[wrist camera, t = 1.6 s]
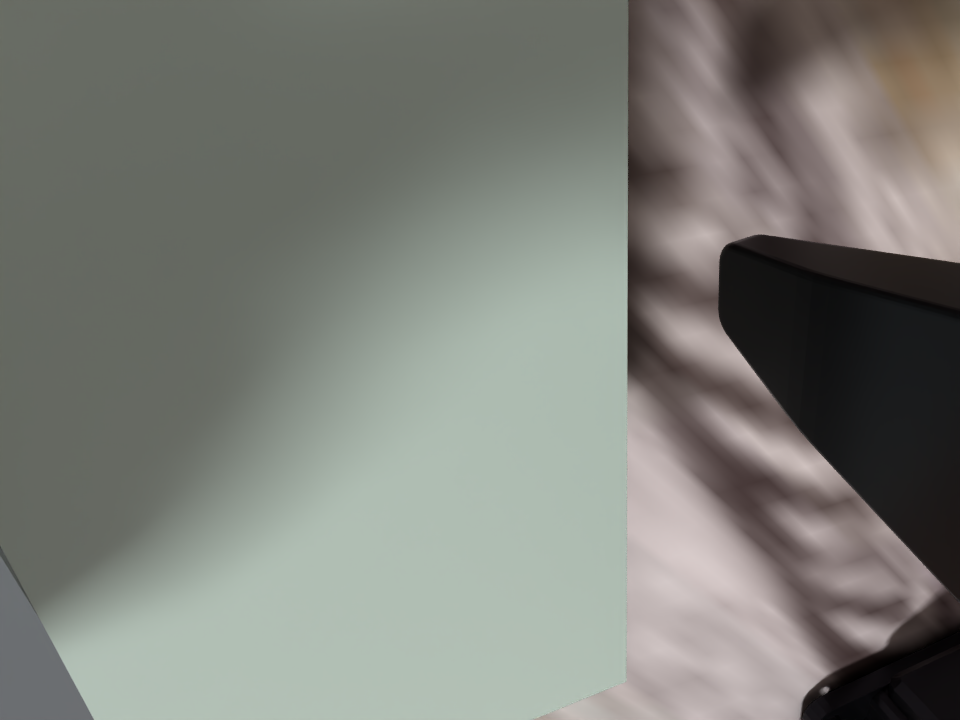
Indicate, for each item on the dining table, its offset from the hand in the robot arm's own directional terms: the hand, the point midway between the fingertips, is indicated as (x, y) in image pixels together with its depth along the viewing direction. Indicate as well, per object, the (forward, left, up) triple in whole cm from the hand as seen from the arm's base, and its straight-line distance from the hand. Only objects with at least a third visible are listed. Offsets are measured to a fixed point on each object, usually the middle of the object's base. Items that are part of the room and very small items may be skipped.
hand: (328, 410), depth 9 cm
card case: (0, 0, -3) cm, 3 cm away
